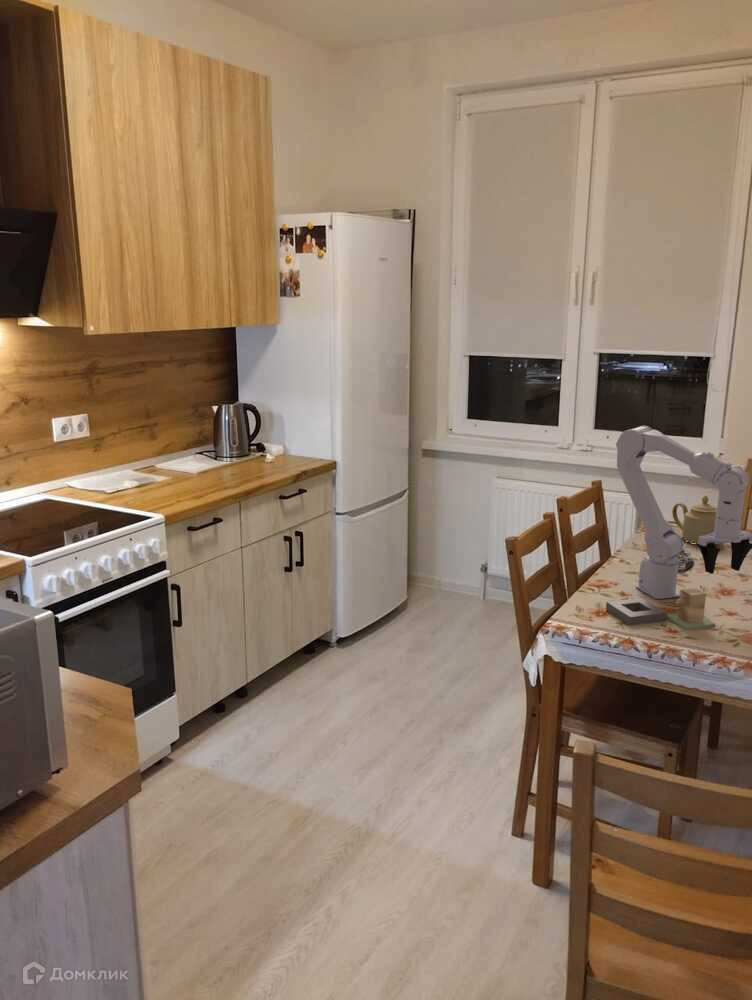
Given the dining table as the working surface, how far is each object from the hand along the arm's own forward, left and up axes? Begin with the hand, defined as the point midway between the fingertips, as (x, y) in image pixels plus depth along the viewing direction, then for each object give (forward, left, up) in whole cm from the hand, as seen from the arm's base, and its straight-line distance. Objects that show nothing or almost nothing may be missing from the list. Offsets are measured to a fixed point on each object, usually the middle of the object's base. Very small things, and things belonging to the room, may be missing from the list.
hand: (722, 570), depth 191 cm
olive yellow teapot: (-50, +32, -10) cm, 60 cm away
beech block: (+6, -13, -9) cm, 17 cm away
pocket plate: (-1, -23, -9) cm, 25 cm away
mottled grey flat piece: (-35, +14, -10) cm, 39 cm away
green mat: (+6, -13, -9) cm, 17 cm away
